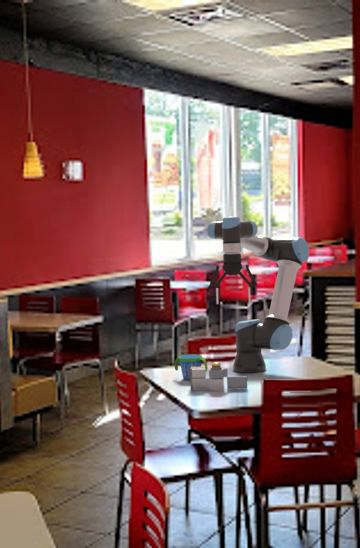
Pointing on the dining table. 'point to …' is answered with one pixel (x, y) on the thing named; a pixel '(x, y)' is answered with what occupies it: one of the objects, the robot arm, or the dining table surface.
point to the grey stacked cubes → (229, 378)
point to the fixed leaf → (206, 381)
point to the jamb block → (191, 374)
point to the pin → (216, 366)
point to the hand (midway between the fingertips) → (233, 303)
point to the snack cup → (189, 364)
